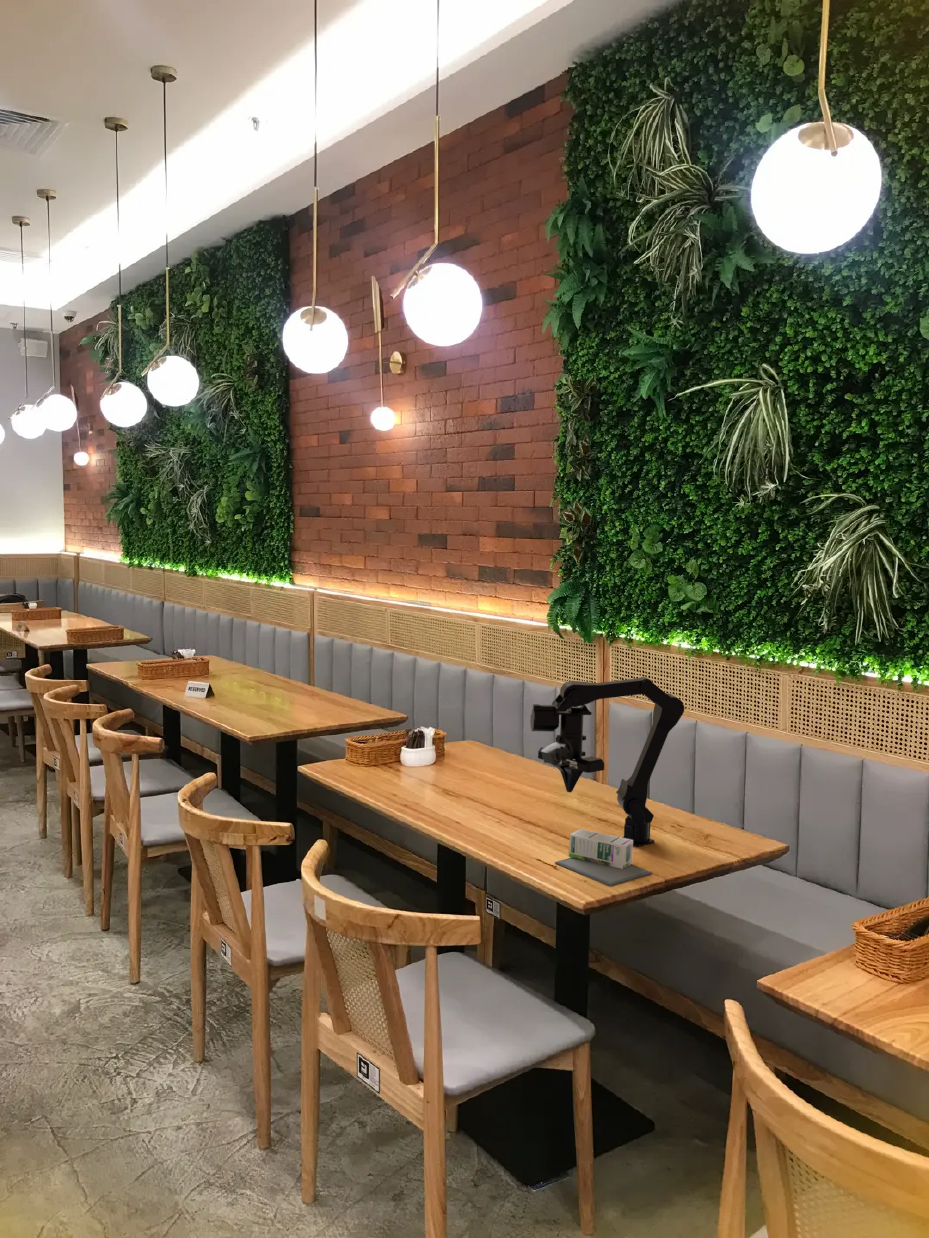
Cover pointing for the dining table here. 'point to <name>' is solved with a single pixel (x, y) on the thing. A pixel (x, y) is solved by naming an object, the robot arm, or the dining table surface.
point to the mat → (603, 871)
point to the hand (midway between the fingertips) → (569, 791)
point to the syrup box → (601, 848)
